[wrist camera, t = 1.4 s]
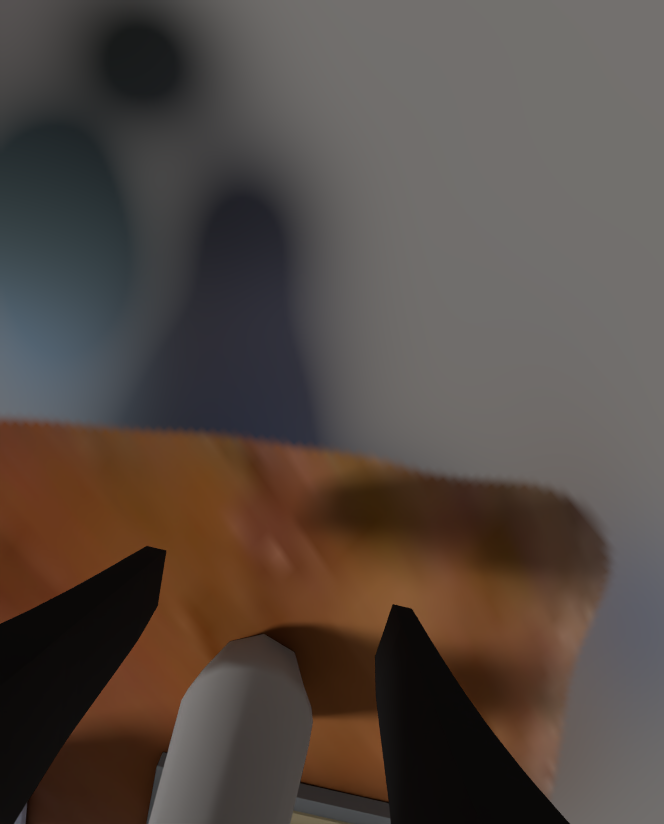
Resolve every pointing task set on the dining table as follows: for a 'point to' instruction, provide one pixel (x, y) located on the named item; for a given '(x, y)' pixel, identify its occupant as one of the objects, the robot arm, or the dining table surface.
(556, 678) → the dining table surface
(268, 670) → the salt shaker
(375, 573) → the dining table surface
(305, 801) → the stand
